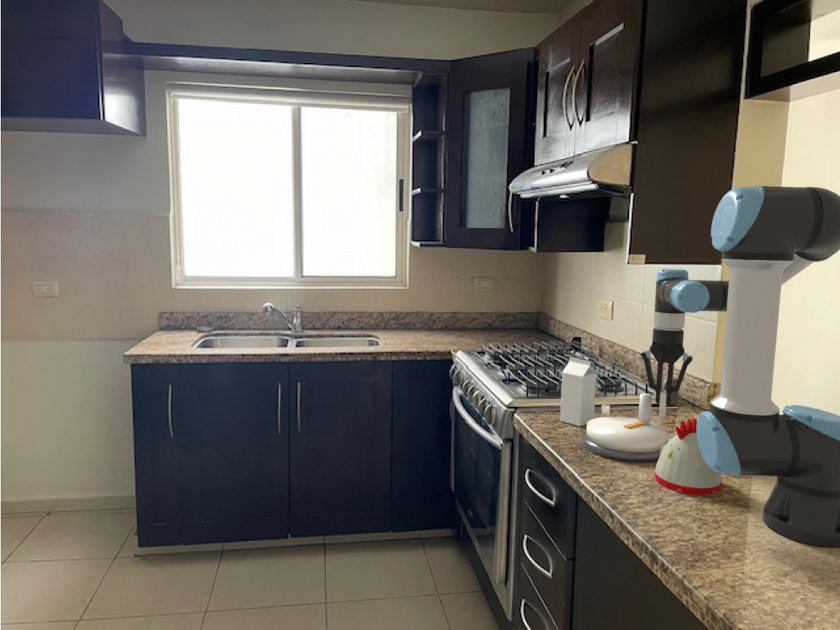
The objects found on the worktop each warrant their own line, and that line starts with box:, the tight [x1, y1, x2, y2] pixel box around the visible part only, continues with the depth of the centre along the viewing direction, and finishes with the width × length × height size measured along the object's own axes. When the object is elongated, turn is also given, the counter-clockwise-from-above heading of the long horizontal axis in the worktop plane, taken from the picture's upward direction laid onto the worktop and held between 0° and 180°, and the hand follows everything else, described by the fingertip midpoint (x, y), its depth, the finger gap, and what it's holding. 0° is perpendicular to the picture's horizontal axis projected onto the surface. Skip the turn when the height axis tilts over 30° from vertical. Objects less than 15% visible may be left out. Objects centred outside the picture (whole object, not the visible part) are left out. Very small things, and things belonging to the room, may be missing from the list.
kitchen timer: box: [654, 417, 722, 496], centre depth 139 cm, size 14×14×15 cm
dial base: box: [581, 403, 669, 464], centre depth 163 cm, size 25×22×7 cm
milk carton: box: [559, 357, 597, 427], centre depth 182 cm, size 7×7×19 cm
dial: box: [585, 392, 668, 453], centre depth 161 cm, size 20×20×11 cm
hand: (662, 415), depth 164 cm, fingers closed
